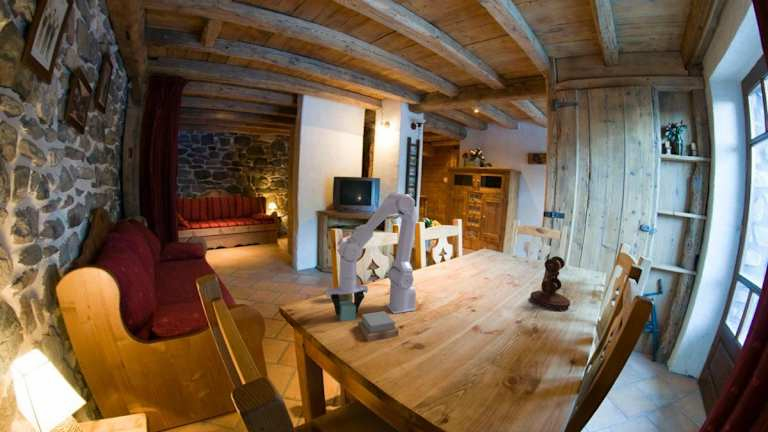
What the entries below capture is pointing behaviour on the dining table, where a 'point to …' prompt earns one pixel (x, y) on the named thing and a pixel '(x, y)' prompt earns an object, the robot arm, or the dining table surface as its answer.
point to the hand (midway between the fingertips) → (346, 313)
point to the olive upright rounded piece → (345, 297)
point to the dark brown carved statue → (551, 285)
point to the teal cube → (347, 311)
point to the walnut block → (377, 335)
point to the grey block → (378, 322)
